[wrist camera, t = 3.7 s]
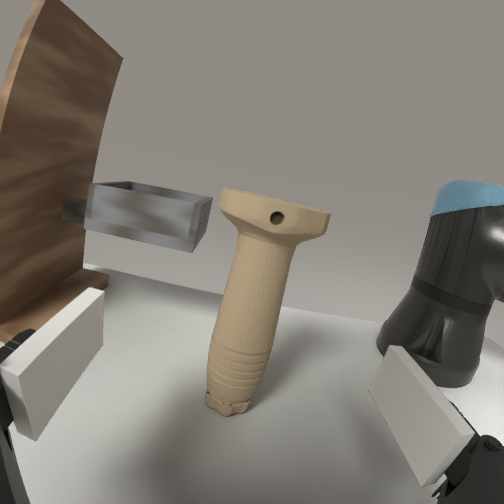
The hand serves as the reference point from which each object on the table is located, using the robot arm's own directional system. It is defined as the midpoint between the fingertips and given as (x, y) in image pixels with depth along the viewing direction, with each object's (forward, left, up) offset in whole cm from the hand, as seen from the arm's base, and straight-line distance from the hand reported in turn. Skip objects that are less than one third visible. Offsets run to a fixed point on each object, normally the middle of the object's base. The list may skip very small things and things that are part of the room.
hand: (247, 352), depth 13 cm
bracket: (+13, -15, -9) cm, 21 cm away
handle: (-1, -7, -9) cm, 11 cm away
